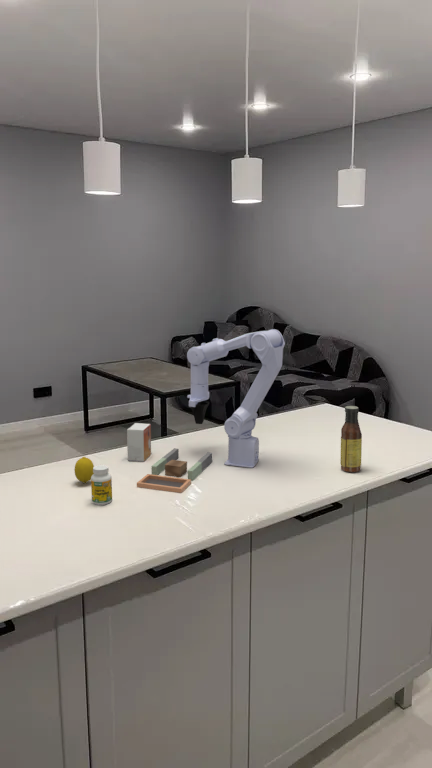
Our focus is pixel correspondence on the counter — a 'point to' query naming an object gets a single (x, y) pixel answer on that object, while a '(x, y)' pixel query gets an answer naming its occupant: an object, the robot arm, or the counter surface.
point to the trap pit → (164, 483)
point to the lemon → (84, 469)
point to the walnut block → (176, 468)
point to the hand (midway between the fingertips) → (199, 423)
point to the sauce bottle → (351, 441)
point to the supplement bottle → (101, 485)
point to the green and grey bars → (174, 455)
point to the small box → (139, 442)
